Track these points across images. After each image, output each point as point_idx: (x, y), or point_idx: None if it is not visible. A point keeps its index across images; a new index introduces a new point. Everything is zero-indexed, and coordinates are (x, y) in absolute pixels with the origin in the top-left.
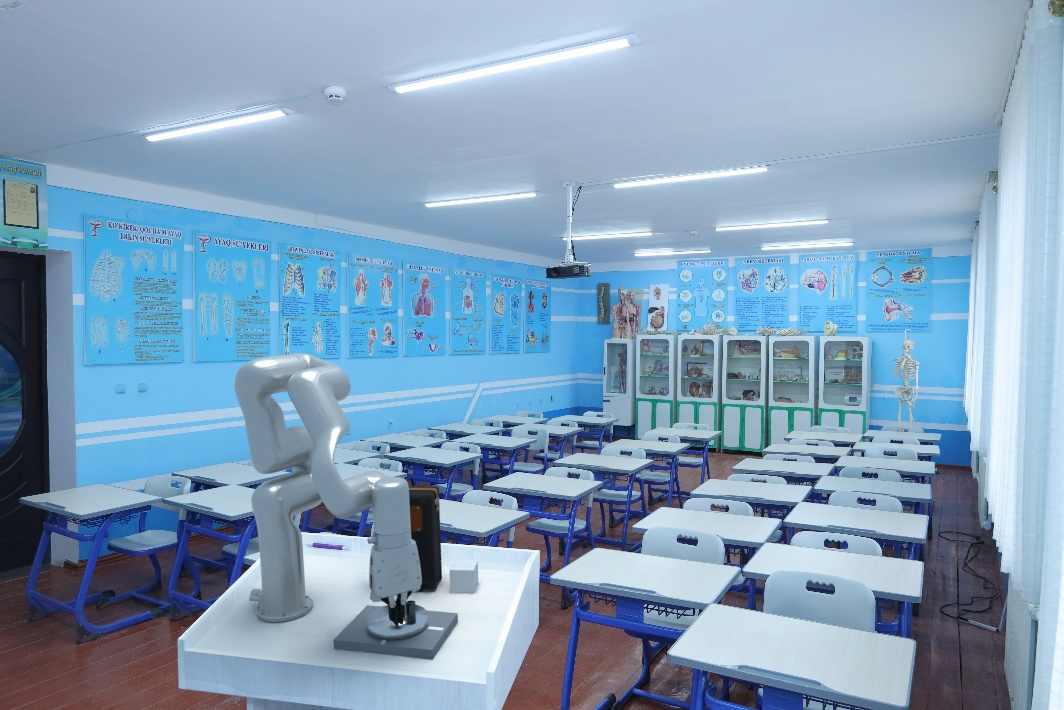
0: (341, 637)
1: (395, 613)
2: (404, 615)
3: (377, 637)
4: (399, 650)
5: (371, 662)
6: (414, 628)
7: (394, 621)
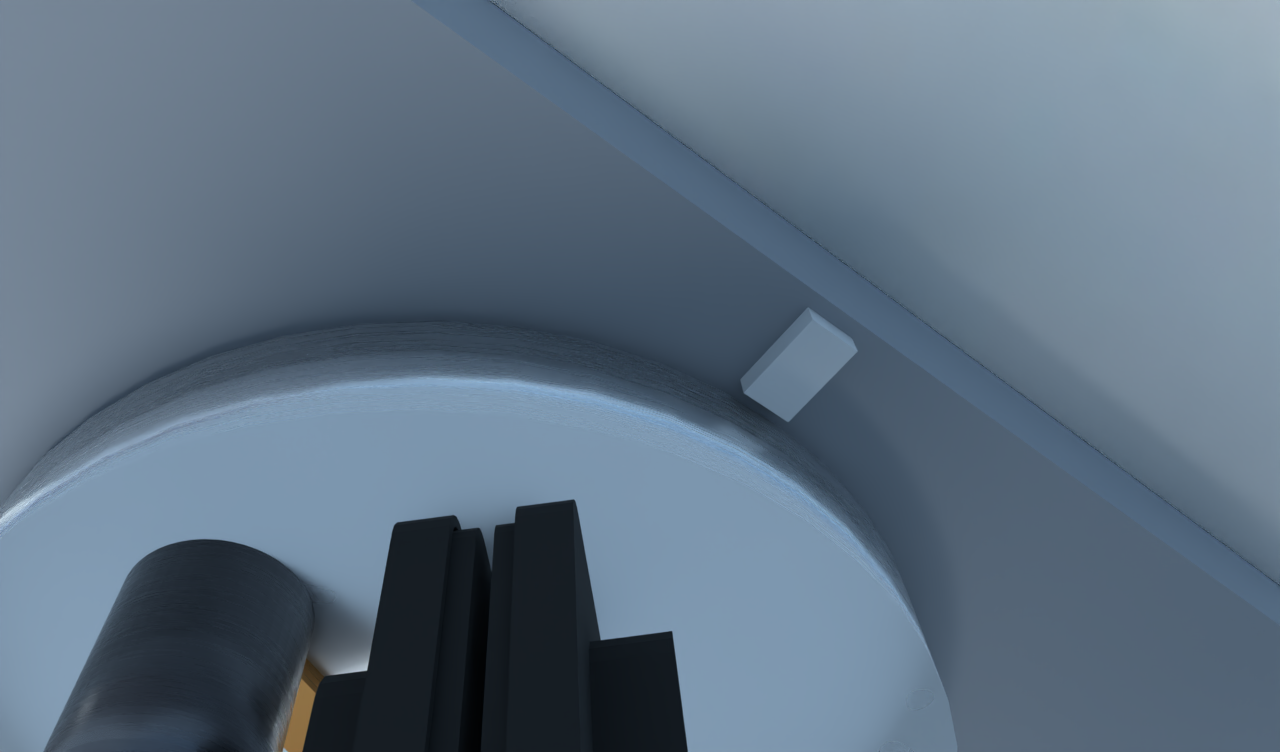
0: (1261, 706)
1: (584, 737)
2: (326, 697)
3: (857, 508)
4: (571, 93)
5: (1045, 68)
6: (180, 428)
7: (590, 616)
